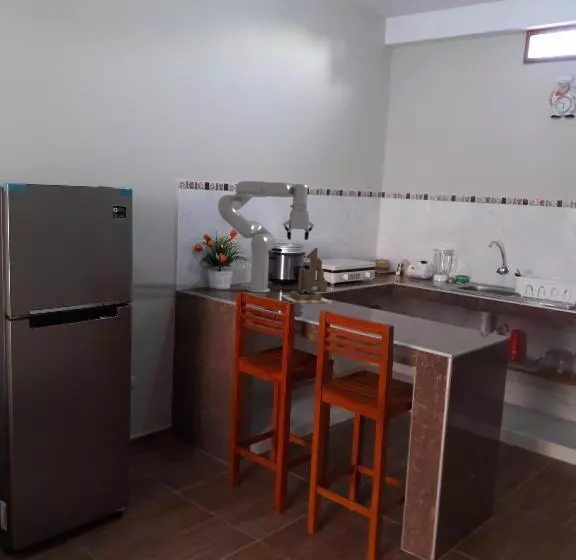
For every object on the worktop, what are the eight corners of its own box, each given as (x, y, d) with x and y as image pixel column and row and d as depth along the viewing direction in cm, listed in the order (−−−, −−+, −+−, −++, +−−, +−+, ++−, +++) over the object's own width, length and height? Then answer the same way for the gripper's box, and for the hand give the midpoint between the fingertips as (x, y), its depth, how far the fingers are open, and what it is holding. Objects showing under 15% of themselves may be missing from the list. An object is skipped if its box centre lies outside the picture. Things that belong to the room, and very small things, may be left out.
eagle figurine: (316, 296, 331) (309, 285, 337) (313, 287, 326) (305, 276, 332) (304, 303, 331) (296, 292, 337) (300, 294, 325) (293, 284, 331)
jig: (293, 303, 319) (293, 296, 319) (281, 296, 336) (281, 290, 336) (329, 303, 326) (330, 296, 326) (316, 296, 343) (316, 290, 342)
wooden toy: (322, 290, 368) (325, 247, 364) (326, 292, 361) (329, 248, 358) (297, 289, 363) (300, 246, 359) (301, 291, 357) (303, 247, 353)
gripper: (286, 207, 331) (284, 239, 333) (317, 208, 336) (315, 240, 339) (281, 206, 338) (280, 238, 340) (312, 207, 343) (310, 239, 346)
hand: (297, 239), depth 339 cm, fingers open, 9 cm apart
